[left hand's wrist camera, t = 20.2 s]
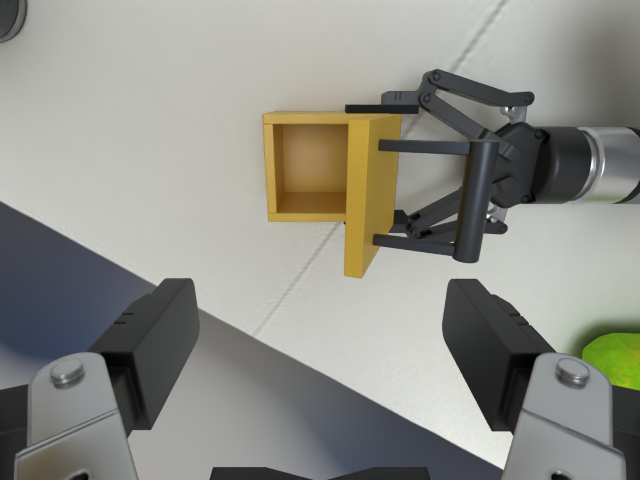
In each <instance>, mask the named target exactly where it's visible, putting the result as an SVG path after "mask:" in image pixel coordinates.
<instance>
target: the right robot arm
mask: <svg viewBox="0 0 640 480" xmlns="http://www.w3.org/2000/svg"><path fill="white" fill-rule="evenodd" d="M436 89H440V90H443V91H446V92H449V93H452V94H455V95H458V96H461V97H464V98H467V99H470V100H474V101H477V102H480V103H483V104H486V105H489V106H495V107H500V112H501V114H502V115H505V116H508V117H509V119H510V123H508V124H506V125H505V126H503V127H502V128H500V129H499V130H497V131H496V132H494V133H493V132H491V131H490V130H488V129H486V128H484V127H482V126H481V125H479V124H478V123H476V122H475V121H473V120H472V119H470V118H469V117H467V116H466V115H464V114H463V113H461V112H460V111H458V110H457V109H455V108H454V107H452V106H451V105H449V104H448V103H446V102H445V101H443V100H442V99H440V98H439V97H437V96H436V95H434V94H435V91H436ZM533 101H534V94H533V93H532V92H514V93H508V92H505V91H502V90H499V89H496V88H493V87H490V86H487V85H484V84H481V83H478V82H475V81H472V80H469V79H466V78H463V77H460V76H457V75H454V74H451V73H448V72H445V71H442V70H439V69H436V70H432V71H429V72H426V73H425V74H424V75H423V78H422V83H421V85H420V87H419V88H418V89H417V90H416V91H389V92H385V93H383V94H382V97H381V105H345V113H389V114H418V112H419V107H421V108H422V109H424V110H425V111H427V112H428V113H430V114H431V115H433V116H434V117H436V118H437V119H439V120H441V121H442V122H444V123H445V124H447V125H448V126H450V127H451V128H453V129H454V130H456V131H457V132H459V133H460V134H462V135H464V136H465V137H466V138H467V139H469V140H472V139H487V140H497V141H500V144H499V150H498V155H497V161H496V167H495V172H494V178H493V183H492V189H491V194H490V200H489V201H490V202H492V203H493V204H494V207H493V208H492V209H491V210H489V211H487V217H486V222H485V228H484V233H487V234H504V233H505V232H506V231H507V229H508V227H507V225H506V224H505V223H504V220H505V216H506V212H507V209H508V208H510V207H512V206H515V205H517V204H563V203H567V204H640V128H631V127H578V128H575V127H533V126H530V125H529V124H527V123H526V122H525V119H526V112H527V106H528V105H530V104H532V103H533ZM461 190H462V186H461V187H460V188H459V190H457V191H455V192H453V193H451V194H449V195H447V196H446V197H444V198H442V199H440V200H438V201H436V202H434V203H432V204H430V205H428V206H426V207H424V208H422V209H421V210H419V211H417V212H415V213H413V214H411V215H409V216H407V215H406V214H405V212H404V211H403V210H394V219H393V225H392V227H391V229H390V231H389V232H388V233H406V234H407V238H415V239H423V240H431V241H439V242H447V243H449V242H453V241H454V238H455V231H456V224H457V220H456V221H452V222H448V223H444V224H440V225H437V226H433V227H430V226H432V225H434V224H436V223H438V222H440V221H442V220H444V219H446V218H448V217H450V216H452V215H454V214H456V213H458V211H459V204H460V197H461ZM344 224H346V222H344ZM428 227H429V228H428ZM484 233H483V234H484Z"/></svg>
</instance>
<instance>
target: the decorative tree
mask: <svg viewBox="0 0 640 480" xmlns="http://www.w3.org/2000/svg"><path fill="white" fill-rule="evenodd" d="M582 360H584V361H587V362H588V363H590V364H592V365H594V366H595V367H597V368H598V369H599V370H600V371H602V372H603V373H604V374H605V375H606V376H607V377H608V379H609V380H610V382H611V384H612V385H616V386H621V387H626V388H630V389H635V390H640V333H611V334H607V335H602V336H599V337H597V338H596V339H595V340H593V341H592V342H591V343H590V344H588V345H587V346H586V347H585V348H584V349H583V352H582Z"/></svg>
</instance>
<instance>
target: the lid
mask: <svg viewBox="0 0 640 480" xmlns="http://www.w3.org/2000/svg"><path fill="white" fill-rule="evenodd" d="M401 119H402V114H385V115H378V116H371V117H364V118H357V119H350V120H349V126H348V160H347V194H346V228H345V262H344V276H349V277H355V278H362V277H363V275H364V274H365V272H366V270H367V268H368V267H369V265H370V263H371V262H372V260H373V258H374V256H375V255H376V253H377V251H378V250H379V248H380V246H382V247H390V248H397V249H404V250H412V251H419V252H426V253H434V254H441V255H448V256H452V258H453V259H455V260H456V261H459V262H463V263H476V262H478V260H479V256H480V250H481V244H482V239H483V233H484V228H485V222H486V217H487V211H488V205H489V200H490V194H491V189H492V183H493V178H494V172H495V167H496V161H497V155H498V150H499V144H500V141H497V140H487V139H472V140H469V142H450V141H422V140H400V132H401ZM399 152H412V153H434V154H455V155H467V157H466V164H465V170H464V177H463V184H462V190H461V197H460V204H459V211H458V217H457V224H456V231H455V238H454V243H447V242H439V241H431V240H423V239H415V238H407V237H399V236H391V235H387V234H388V232H389V231H390V229H391V227H392V225H393V219H394V206H395V194H396V181H397V169H398V157H399Z"/></svg>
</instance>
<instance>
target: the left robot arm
mask: <svg viewBox="0 0 640 480" xmlns="http://www.w3.org/2000/svg"><path fill="white" fill-rule="evenodd" d="M25 11H26V1H25V0H0V43H1V42H4V41H7V40H9V39H10V38H12V37H13V36H14V35H15V34H16V33H17V32H18V31H19V29H20V28H21V26H22V24H23V21H24V18H25ZM199 329H200V322H199V314H198V308H197V301H196V294H195V287H194V283H193V280H192V279H190V278H166V279H164V280H163V281H162V282H161V284H160V285H159V286H158V287H157V288H156V289H155V290H154V291H153V293H152V294H146V295H145V296H143V297H141V298H139V299H138V300H136V301H134V302H133V303H131V305H130V306H129V307H128V308H127V309H126V310H125V311H124V312H123V313H122V315H121V316H119V317H118V318H117V319H116V320H115V321H114V324H112V325H111V326H110V327H109V328H108V329H107V330H106V331H105V332H104V333H103V334H102V335H101V336H100V337H99V338H98V340H97V341H96V342H95V343H94V344H93V345H92V346H91V347H90V348H89V349H88V350H87V351H86V352H84V353H77V354H72V355H69V356H65V357H63V358H60V359H58V360H56V361H53V362H52V363H50V364H48V365H47V366H45V367H44V368H42V369H41V370H40V371H38V372H37V373H36V374H35V375H34V376H33V377H32V379H31V380H30V382H29V384H26V385H21V386H17V387H12V388H7V389H2V390H0V480H139V478H138V475H137V471H136V468H135V464H134V461H133V457H132V454H131V450H130V447H129V443H128V440H127V439H128V437H129V435H130V433H131V432H132V430H151V429H152V427H153V425H154V423H155V421H156V419H157V417H158V415H159V413H160V411H161V409H162V408H163V406H164V404H165V402H166V400H167V398H168V396H169V394H170V392H171V390H172V388H173V386H174V384H175V382H176V381H177V379H178V377H179V375H180V373H181V371H182V369H183V367H184V365H185V363H186V361H187V359H188V357H189V355H190V353H191V352H192V350H193V348H194V346H195V344H196V342H197V339H198V336H199ZM442 331H443V337H444V340H445V343H446V345H447V347H448V349H449V350H450V352H451V354H452V356H453V358H454V360H455V362H456V364H457V366H458V368H459V370H460V371H461V373H462V375H463V377H464V379H465V381H466V383H467V385H468V387H469V389H470V391H471V392H472V394H473V396H474V398H475V400H476V402H477V404H478V406H479V408H480V410H481V412H482V413H483V415H484V417H485V419H486V421H487V423H488V425H489V427H490V429H491V431H511V433H512V435H513V440H512V443H511V447H510V450H509V454H508V457H507V461H506V464H505V468H504V471H503V475H502V478H501V480H640V390H635V389H630V388H626V387H621V386H616V385H612V384H611V382H610V380H609V379H608V377H607V376H606V375H605V374H604V373H603V372H602V371H600V370H599V369H598V368H597V367H595V366H594V365H592V364H590V363H588V362H587V361H584V360H582V359H580V358H577V357H575V356H571V355H568V354H563V353H557V352H556V351H555V350H554V349H553V348H552V347H551V346H550V345H549V344H548V343H547V342H546V341H545V339H544V338H543V337H542V336H541V335H540V334H539V333H538V332H537V331H536V330H535V329H534V328H533V327H532V326H531V325H529V323H528V322H527V321H526V319H525V318H524V317H523V316H520V313H519V312H518V311H517V310H516V309H515V308H514V307H513V306H512V305H511V304H510V303H509V302H507V301H505V300H503V299H502V298H500V297H498V296H497V295H491V294H490V293H489V292H488V291H487V289H486V288H485V287H484V286H483V285H482V284H481V283H480V282H479V281H478V280H477V279H451V280H450V281H449V283H448V287H447V294H446V300H445V307H444V314H443V321H442ZM210 480H311V479H308V478H304V477H300V476H297V475H293V474H289V473H285V472H282V471H278V470H274V469H270V468H267V467H213V470H212V473H211V477H210ZM329 480H430V477H429V473H428V470H427V467H373V468H370V469H366V470H362V471H359V472H355V473H351V474H347V475H343V476H340V477H336V478H332V479H329Z"/></svg>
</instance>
